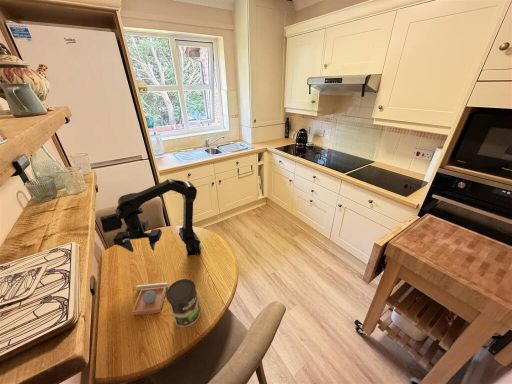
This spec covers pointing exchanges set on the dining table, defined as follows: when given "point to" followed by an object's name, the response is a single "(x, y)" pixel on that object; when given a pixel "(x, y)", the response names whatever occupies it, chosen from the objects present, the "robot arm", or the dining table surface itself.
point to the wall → (152, 286)
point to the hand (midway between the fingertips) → (143, 250)
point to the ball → (149, 297)
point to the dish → (152, 307)
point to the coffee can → (183, 302)
